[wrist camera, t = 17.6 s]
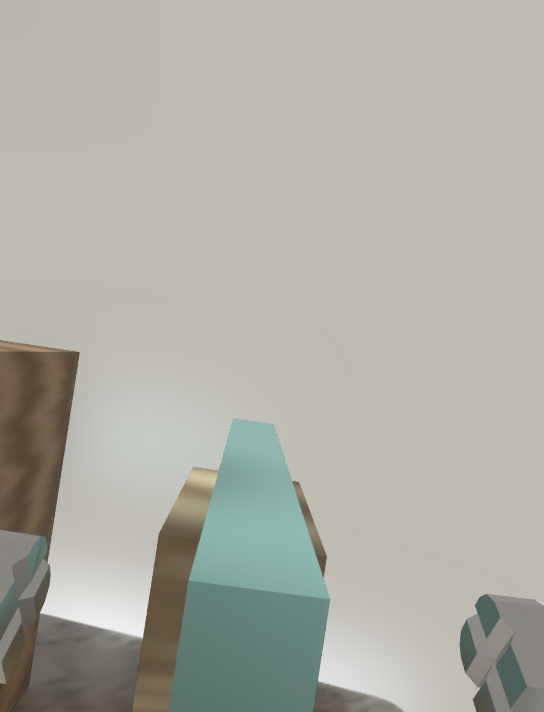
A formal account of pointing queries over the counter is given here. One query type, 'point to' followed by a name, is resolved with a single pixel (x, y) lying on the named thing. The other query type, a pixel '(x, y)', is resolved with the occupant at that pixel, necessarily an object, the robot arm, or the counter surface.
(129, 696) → the counter surface
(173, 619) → the zigzag patterned block
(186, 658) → the rail
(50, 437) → the post
